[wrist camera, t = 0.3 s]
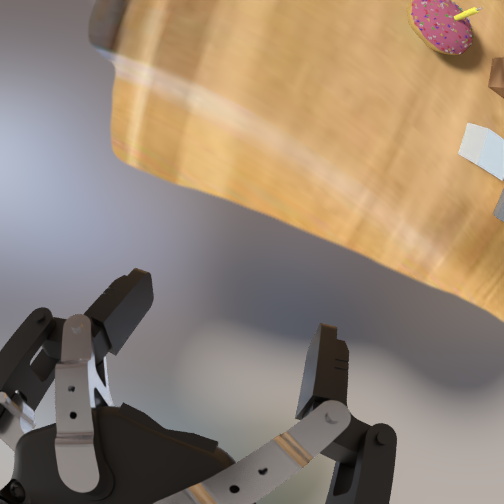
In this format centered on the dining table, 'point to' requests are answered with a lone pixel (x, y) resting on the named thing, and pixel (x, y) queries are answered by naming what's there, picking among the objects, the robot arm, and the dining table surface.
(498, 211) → the grey flat plate
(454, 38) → the cupcake
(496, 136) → the greyblue block
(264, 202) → the dining table surface
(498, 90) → the walnut block
